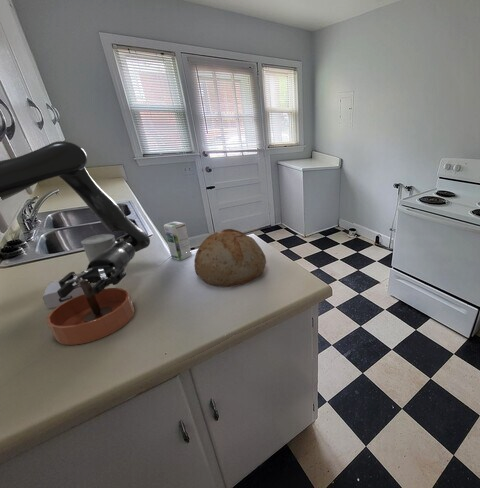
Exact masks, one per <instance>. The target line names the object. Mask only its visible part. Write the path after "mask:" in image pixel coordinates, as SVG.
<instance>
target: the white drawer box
mask: <svg viewBox="0 0 480 488" xmlns="http://www.w3.org/2000/svg"><path fill="white" fill-rule="evenodd" d="M80 279H81V280H83V279H82V278H80ZM60 280H61V279H57V280H54V281H51V282H49V283H48V284H47V286H46V289H45V291H44V293H43V295H42V297H41V298H42V302H43V303H44V305H45V307H46V308H47V309H55V308H56V307H57V306H59V305H61V304H62V303H64V302H66V301H68V300H69V299H72V298H74V297H76V296H79V295H81V294H84V292H83V290H82V287H78V288H76V289H74V290H73V291H72V292H71V293H69V294H68V295H67V296H66V297H65V298H60V296H59V295H58V293H57V291H58V290H59V289H60V288H61V287H60V285H59V283H58V282H59V281H60ZM72 285H73V286H74V285H76V282H75V283H74V284H72Z"/></svg>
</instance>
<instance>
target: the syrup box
mask: <svg viewBox="0 0 480 488" xmlns="http://www.w3.org/2000/svg"><path fill="white" fill-rule="evenodd" d="M163 230H164V233H165V234H164V235H165V237H166V241H167V245H168V249H169V253H170V254H169V255H170V257H171V259H174V260H178V261H183V260H185V259H187V258H189V257H191V256H192V255H193V252H192V249H191V248H192V247H191V244H190V239H189V234H188V230H187V226H186V223H185V222H180V221H172V222H171V221H170V222H168V223H165V224H163ZM190 251H191V252H190ZM186 252H187V253H186Z"/></svg>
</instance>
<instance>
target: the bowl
mask: <svg viewBox="0 0 480 488" xmlns="http://www.w3.org/2000/svg"><path fill="white" fill-rule="evenodd" d="M94 295H95V297H96V300H97V302H98V304H99V307H100V308H101V307H110V308H112V310H113V311H112V312H110V313H108V314H106V315H104V316H103V317H100V318H98V319H95V320H92V321H90V322H86V323H84V320H83V317H84V316H85V315H86V314H87V313H89V312H90V311H92V310H91V308H90V306H89V303H88V301H87V299H86V297H85V294H81V295H79V296H76V297H74V298H72V299H69V300H68V301H66V302H64V303H62V304H61V305H59V306H57V307H54V308H53V309H52V310H51V311H50V312H49V314H48V315H47V317H46V325H47V326H48V328H49V330H50V333H51V334H52V336H53V338H54V339H55V340H56V341H57V343H60V344H61V345H66V346H75V345H76V346H77V345H82V344H83V345H84V344H88V343H92V342H95V341H98V340H100V339H102V338H105V337H107V336H109V335H112V334H113V333H115V332H117V331H118V330H120V329H122V328H123V327H125V326H126V325H127V324H128V323H129V322H130V321H131V320H132V318H133V317H134V314H135V306H134V303H133V301H132V298H131V295H130V293H129V292H128V290H126V289H124V288H121V287H120V288H119V287H109V288H108V287H105V288H104V289H103V290H102V291H101V292H99V294H94Z"/></svg>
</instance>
